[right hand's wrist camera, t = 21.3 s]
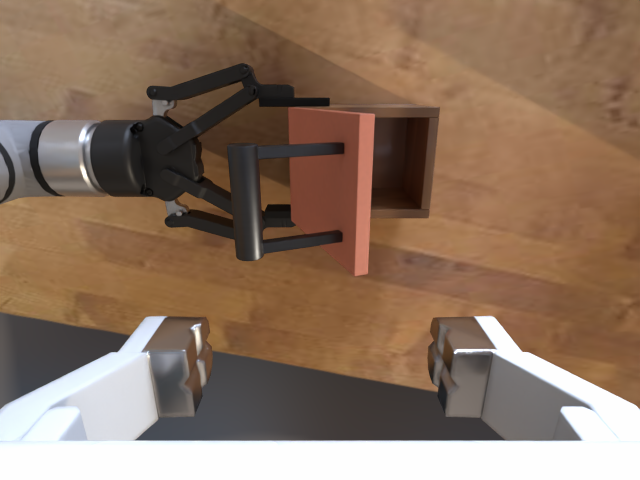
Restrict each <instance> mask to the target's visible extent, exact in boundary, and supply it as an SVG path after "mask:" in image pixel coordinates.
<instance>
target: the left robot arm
mask: <svg viewBox="0 0 640 480" xmlns="http://www.w3.org/2000/svg"><path fill="white" fill-rule="evenodd" d="M241 81H242V84H243V86H244V89H242V90H240V91H239V92H237V93H236V94H234V95H233V96H231V97H230V98H228V99H227V100H225V101H224V102H222V103H221V104H219V105H218V106H216V107H215V108H213V109H211V110H210V111H208V112H207V113H205V114H204V115H202V116H201V117H199V118H198V119H196V120H195V121H193V122H191V123H189V124H187V125H186V126H184V127H183V126H181V125H180V124H178V123H177V122H175V121H174V120H172V119H171V118H170V117H168V116H167V112H168V111H169V110H170V109H174V108H175V107H176V106H177V100H185V99H189V98H192V97H195V96H198V95H201V94H204V93H207V92H210V91H213V90H216V89H219V88H222V87H225V86H228V85H231V84H234V83H238V82H241ZM147 95H148V97H149V98H150V99H152V105H153V116H152V117H150V118H149V119H147V120H105V121H103V122H100V121H98V120H54V121H23V120H0V204H3V203H5V202H8V201H11V200H14V199H17V198H22V197H40V196H79V197H105V196H108V195H111V196H114V197H157V198H159V199H161V200H163V201H165V203H166V208H167V214H168V217H167V218H166V219H165V224H166V225H167V226H168V227H171V228H172V227H191V228H194V229H198V230H201V231H205V232H209V233H212V234H216V235H219V236H223V237H227V238H230V239H234V240H235V236H234V224H233V220H232V219H228V218H224V217H221V216H217V215H214V214H210V213H207V212H203V211H199V210H193V209H189V207H188V206H187V205H185V204H181V203H180V202H179V201H178V199H177V198H178V197H179V196H181V195H182V194H183V193H185V192H187V193H189V194H191V195H193V196H195V197H197V198H202V199H204V200H206V201H208V202H210V203H211V204H213V205H215V206H217V207H219V208H221V209H222V210H224V211H226V212H228V213H230V214H232V215H233V211H232V199H231V193H230V192H228V191H226V190H224V189H223V188H221V187H219V186H217V185H215V184H214V183H213V182H212V181H211V180H209V179H207V178H206V177H204V176H202V174H203V173H204V166H203V163H202V160H201V152H202V146H201V142H199V140H198V137H199V136H201V135H202V134H204V133H205V132H207V131H208V130H209V129H211V128H212V127H214V126H215V125H217V124H219V123H220V122H222V121H223V120H225V119H226V118H228V117H229V116H231V115H233V114H234V113H236V112H237V111H239V110H240V109H242V108H243V107H245V106H247V105H248V104H250V103H251V102H253V101H254V100H256V99H257V98H259V107H296V106H330V98H294V87H292V86H290V85H262V84H260V83H259V82H258V81H257V79H256V76H255V74H254V70H253V68H252V67H251V66H249V65H247V64H244V63H241V64H238V65H235V66H232V67H229V68H226V69H223V70H220V71H217V72H214V73H211V74H208V75H205V76H202V77H199V78H196V79H193V80H190V81H187V82H184V83H181V84H178V85H175V86H172V87H164V86H150V87H148V89H147ZM261 212H262V231H263V230H264V229H265V228H267V227H293V226H296V224H295V223H293V222H292V221H291V204H268V205H267V207H266V210H265V212H264V211H262V210H261Z"/></svg>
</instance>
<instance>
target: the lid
mask: <svg viewBox="0 0 640 480" xmlns="http://www.w3.org/2000/svg"><path fill="white" fill-rule="evenodd" d="M288 120H289V144H284V145H264V146H258V145H257V144H255V143H233V144H229V145H227V149H228V162H229V174H230V186H231V199H232V211H233V224H234V236H235V248H236V257H237V259H239V260H242V261H254V260H258V259H260V258H262V257H263V255H264V254H265V253H271V252H278V251H285V250H292V249H299V248H305V247H312V246H321V247H322V248H323V249H324V250H325V251H326V252H327V253H328V254H330V255H331V256H332V257H333V258H334V259H335V260H336V261H338V262H339V263H340V264H341V265H342V266H343V267H344V268H345V269H347V270H348V271H349V272H350V273H351V274H352V275H353V276H359V275H365V274H368V255H369V233H370V211H371V188H372V166H373V144H374V121H375V114H370V113H358V112H346V111H335V110H323V109H312V108H300V107H289V108H288ZM288 157H290V193H291V221H292V222H293V223H295V224H296V225H297V226H298V227H299V228H300V229H301V230H302V231H304V232H305V233H306V234H304V235H296V236H289V237H282V238H274V239H267V240H263V231H262V212H261V194H260V176H259V159H271V158H288Z"/></svg>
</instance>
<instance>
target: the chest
mask: <svg viewBox="0 0 640 480" xmlns="http://www.w3.org/2000/svg"><path fill="white" fill-rule="evenodd" d="M296 107H300V108H312V109H323V110H335V111H346V112H358V113H370V114H375V121H374V144H373V166H372V188H371V211H370V218H429V213H430V210H429V209H430V203H431V193H432V183H433V173H434V163H435V153H436V143H437V132H438V122H439V118H438V117H439V112H440V107H434V106H425V105H417V104H330V106H296Z"/></svg>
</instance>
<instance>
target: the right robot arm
mask: <svg viewBox="0 0 640 480" xmlns="http://www.w3.org/2000/svg"><path fill="white" fill-rule="evenodd" d="M209 333H210V329H209V322H208V320H207V318H206V317H173V316H169V317H167V316H149V317H146V318H145V319H144V320H143V321H142V322H141V324H140V325H139V326H138V327H137V329H136V330H135V331H134V332H133V334H132V335H131V336H130V337H129V339H128V340H127V341H126V343H125V344H124V345H123V346H122V347H121V349H120V350H119V351H118V352H111V353H109V354H107V355H105V356H103V357H101V358H99V359H97V360H95V361H93V362H91V363H89V364H87V365H85V366H83V367H81V368H79V369H77V370H75V371H73V372H71V373H69V374H67V375H65V376H63V377H61V378H59V379H57V380H54V381H52V382H50V383H48V384H47V385H44V386H42V387H40V388H38V389H36V390H34V391H32V392H30V393H28V394H26V395H24V396H22V397H20V398H18V399H16V400H14V401H12V402H10V403H8V404H6V405H5V406H4V407H2V408H1V409H0V480H640V409H639V408H638V407H637V406H636V405H634V404H632V403H630V402H628V401H626V400H624V399H622V398H620V397H618V396H616V395H614V394H612V393H610V392H608V391H605V390H603V389H601V388H599V387H597V386H595V385H593V384H591V383H589V382H587V381H585V380H583V379H581V378H579V377H577V376H575V375H573V374H571V373H569V372H567V371H565V370H563V369H561V368H559V367H557V366H555V365H553V364H551V363H549V362H547V361H545V360H543V359H541V358H539V357H537V356H535V355H533V354H531V353H529V352H522V351H521V350H520V349H519V348H518V346H517V345H516V344H515V343H514V341H513V340H512V339H511V338H510V336H509V335H508V334H507V333H506V331H505V330H504V329H503V328H502V326H501V325H500V324H499V323H498V321H497V320H496V319H495V318H494V317H492V316H477V317H437V318H433V319H432V322H431V328H430V333H431V335H432V337H433V340H434V341H433V342H432V343H431V344H430V346H429V347H428V370H429V374H430V378H431V380H432V383H433V384H434V385H435V386H437V387H438V398H439V401H440V403H441V406H442V408H443V411H444V413H445V416H447V417H482V420H483V421H484V422H485V423H487V424H488V425H489V426H490V427H491V428H492V429H493V430H495V431H496V432H497V433H498V434H499V435H500V436H501V437H503V438H504V439H505V440H506V441H134V440H135V439H136V438H138V437H139V436H140V435H141V434H142V433H143V432H144V431H146V430H147V429H148V428H149V427H150V426H151V425H152V424H154V423H155V422H156V421H157V420H158V417H192V416H195V413H196V411H197V408H198V406H199V403H200V401H201V398H202V387H203V386H205V385H206V384H207V383H208V380H209V378H210V375H211V368H212V347H211V346H210V344H209V343H208V342H207V341H206V340H207V337H208V335H209Z"/></svg>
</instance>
